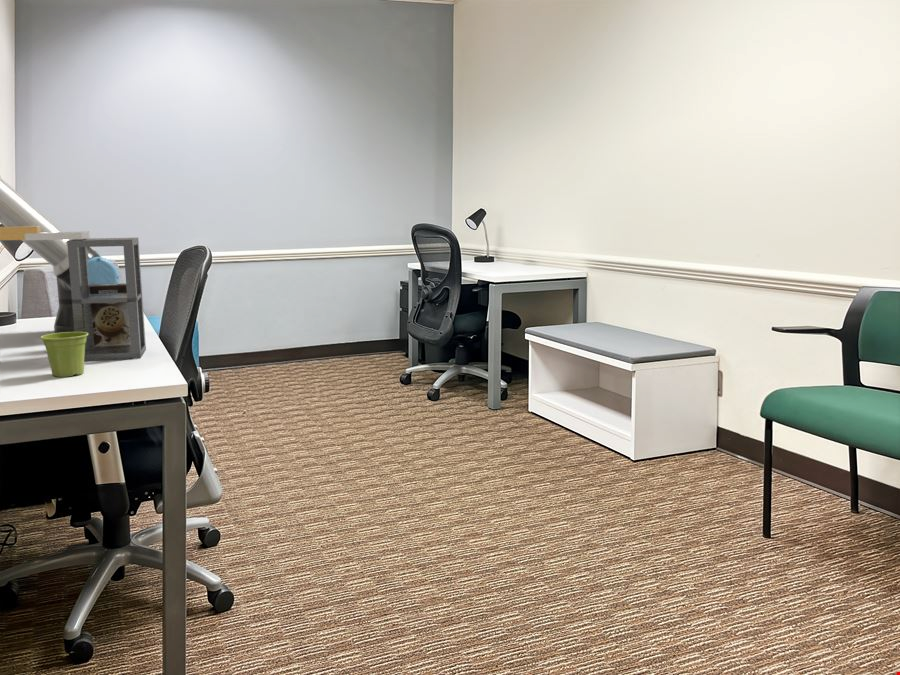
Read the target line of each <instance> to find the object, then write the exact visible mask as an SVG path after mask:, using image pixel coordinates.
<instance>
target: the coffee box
mask: <svg viewBox="0 0 900 675" xmlns="http://www.w3.org/2000/svg"><path fill="white" fill-rule="evenodd" d="M106 293H127V288H126V283H119V284H90V294H106ZM91 311H92V323H93V336H94V346H113V345H131V344H130V330H129V316H128V302H113V303H91Z"/></svg>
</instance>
